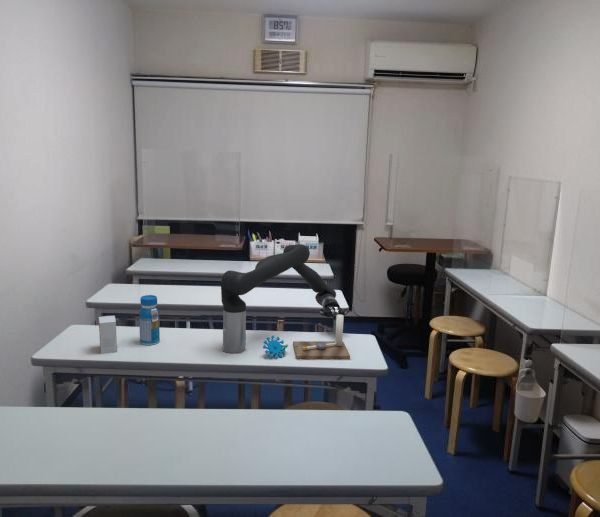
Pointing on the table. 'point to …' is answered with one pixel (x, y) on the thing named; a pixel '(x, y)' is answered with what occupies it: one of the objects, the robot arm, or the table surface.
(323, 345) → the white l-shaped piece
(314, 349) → the wooden cutting board
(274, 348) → the blue spiky ball
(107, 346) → the small box
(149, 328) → the beverage bottle
